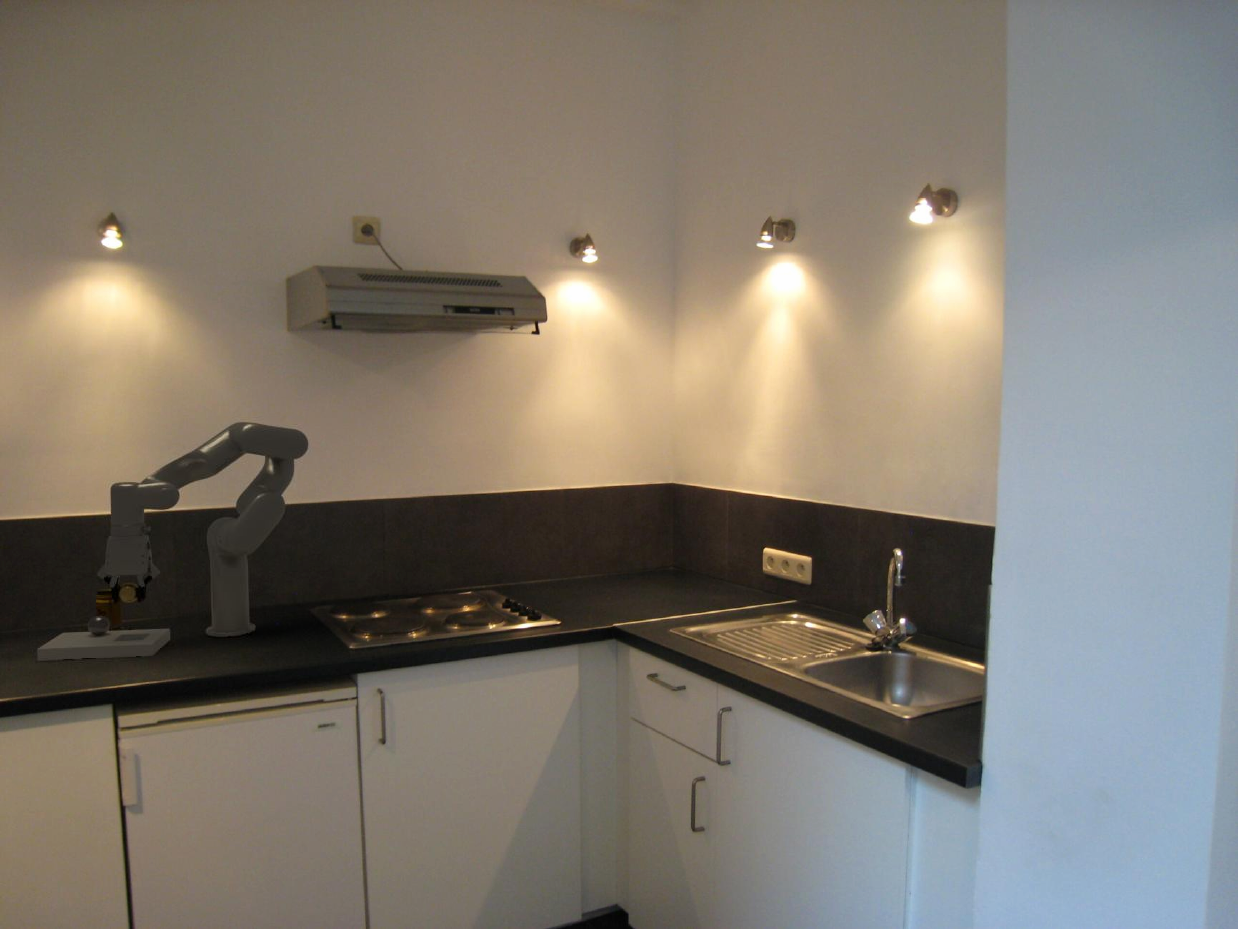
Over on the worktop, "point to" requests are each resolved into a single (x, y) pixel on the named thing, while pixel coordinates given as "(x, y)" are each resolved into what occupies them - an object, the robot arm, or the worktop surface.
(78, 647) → the hole plate
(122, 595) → the brass ball
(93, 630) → the steel ball
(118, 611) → the condiment
